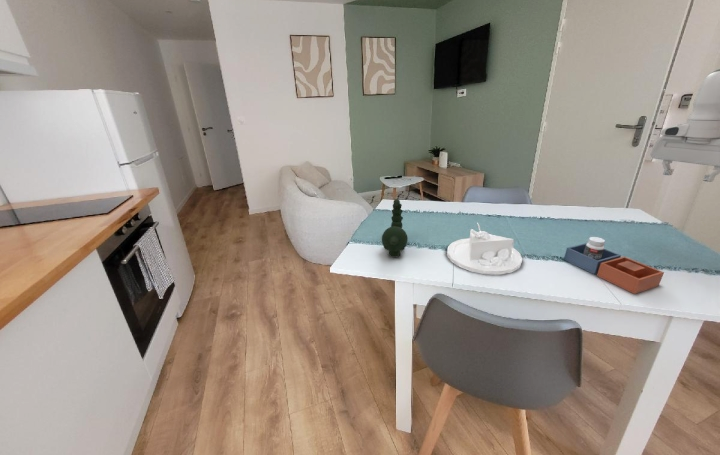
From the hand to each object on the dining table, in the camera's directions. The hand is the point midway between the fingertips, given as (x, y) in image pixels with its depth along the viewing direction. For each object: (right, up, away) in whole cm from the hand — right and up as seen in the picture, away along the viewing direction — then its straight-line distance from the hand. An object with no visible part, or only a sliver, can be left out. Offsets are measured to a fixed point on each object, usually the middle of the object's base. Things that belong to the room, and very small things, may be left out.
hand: (686, 177), depth 88 cm
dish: (-55, -26, +17) cm, 63 cm away
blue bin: (-23, -27, +8) cm, 36 cm away
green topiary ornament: (-86, -23, +26) cm, 92 cm away
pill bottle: (-23, -27, +8) cm, 36 cm away
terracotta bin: (-19, -31, -1) cm, 37 cm away
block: (-20, -30, -1) cm, 36 cm away
